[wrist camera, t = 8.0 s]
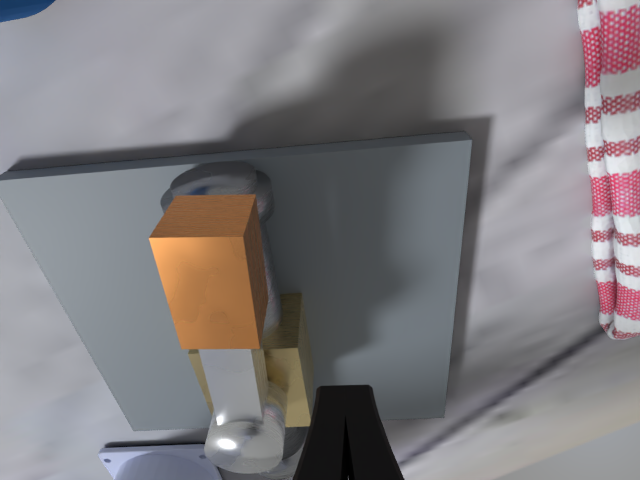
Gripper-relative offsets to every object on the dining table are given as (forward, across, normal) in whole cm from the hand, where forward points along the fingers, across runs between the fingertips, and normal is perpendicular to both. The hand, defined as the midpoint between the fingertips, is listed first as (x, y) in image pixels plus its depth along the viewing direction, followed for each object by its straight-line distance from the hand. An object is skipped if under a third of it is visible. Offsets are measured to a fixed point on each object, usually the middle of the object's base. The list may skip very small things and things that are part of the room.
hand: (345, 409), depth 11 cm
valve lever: (+5, +4, +2) cm, 7 cm away
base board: (+10, +4, +6) cm, 13 cm away
